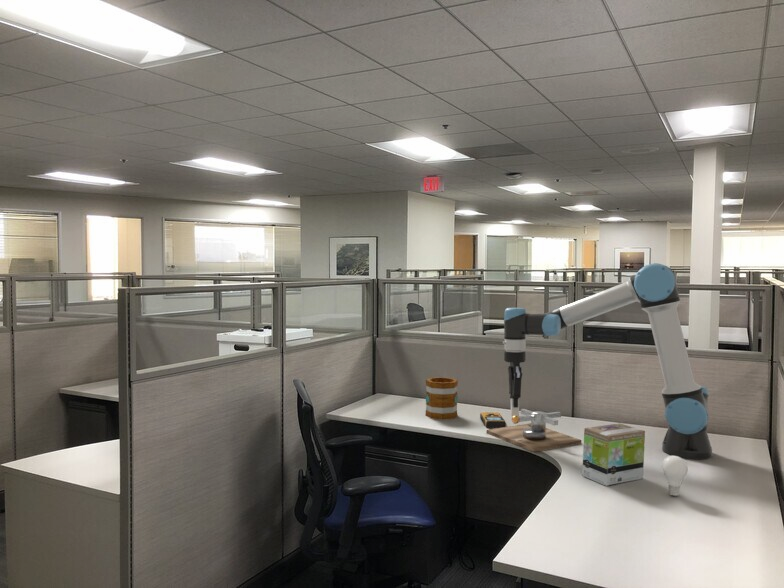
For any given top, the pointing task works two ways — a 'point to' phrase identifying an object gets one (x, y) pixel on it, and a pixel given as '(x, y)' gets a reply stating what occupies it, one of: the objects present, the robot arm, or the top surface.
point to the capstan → (536, 423)
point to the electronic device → (492, 420)
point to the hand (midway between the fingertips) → (514, 415)
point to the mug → (441, 398)
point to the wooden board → (516, 437)
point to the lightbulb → (674, 473)
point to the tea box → (613, 454)
